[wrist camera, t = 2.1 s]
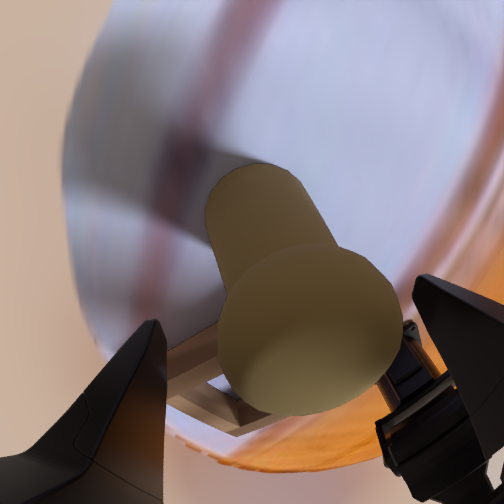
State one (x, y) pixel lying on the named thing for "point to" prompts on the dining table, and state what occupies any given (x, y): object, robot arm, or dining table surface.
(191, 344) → the socket block
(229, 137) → the dining table surface
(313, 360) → the cork
